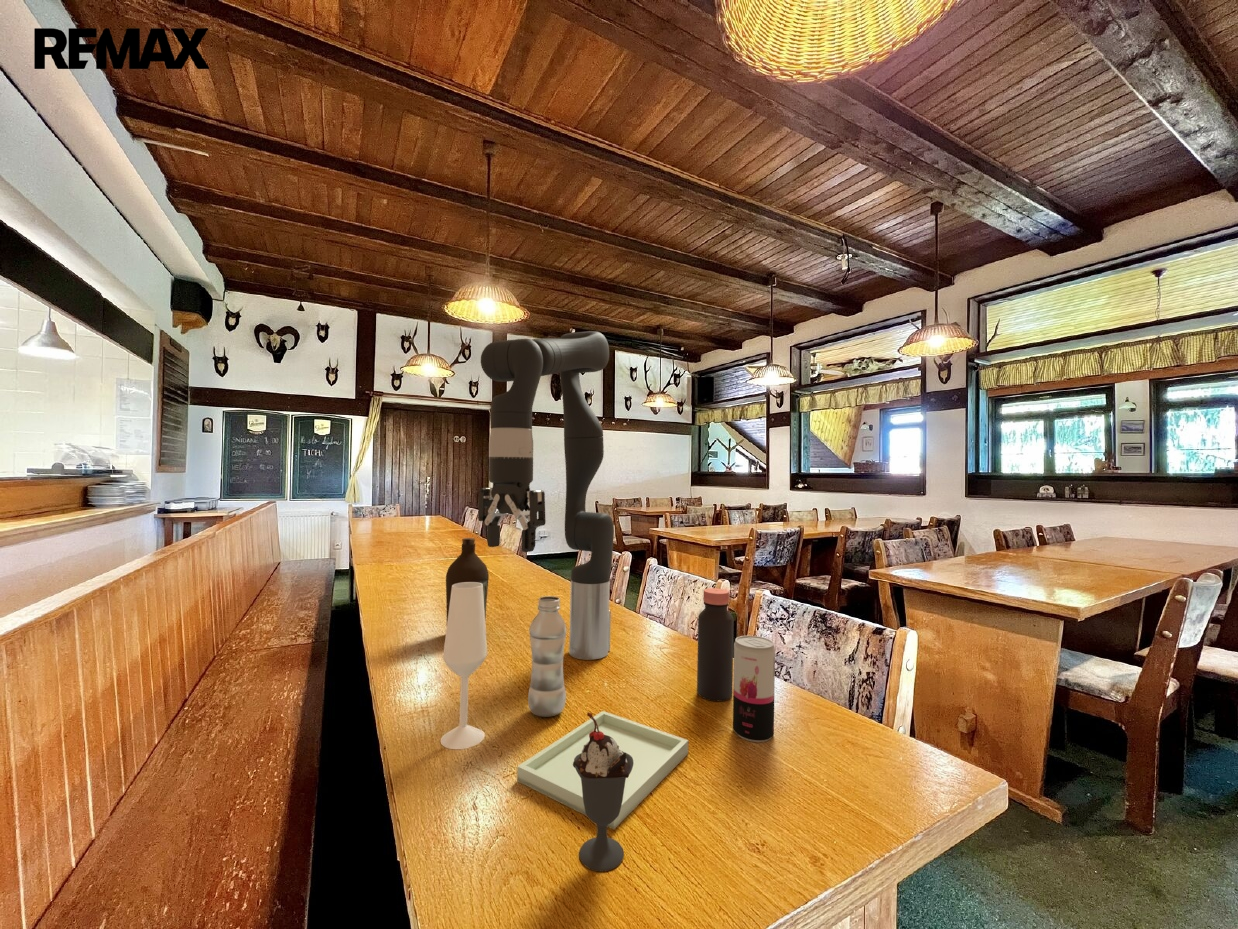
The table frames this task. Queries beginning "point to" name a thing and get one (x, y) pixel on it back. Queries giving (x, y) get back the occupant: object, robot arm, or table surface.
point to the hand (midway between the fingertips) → (510, 549)
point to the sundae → (602, 796)
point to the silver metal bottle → (547, 659)
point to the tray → (642, 743)
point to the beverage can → (754, 688)
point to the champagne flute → (465, 654)
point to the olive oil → (467, 571)
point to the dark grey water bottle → (715, 647)
